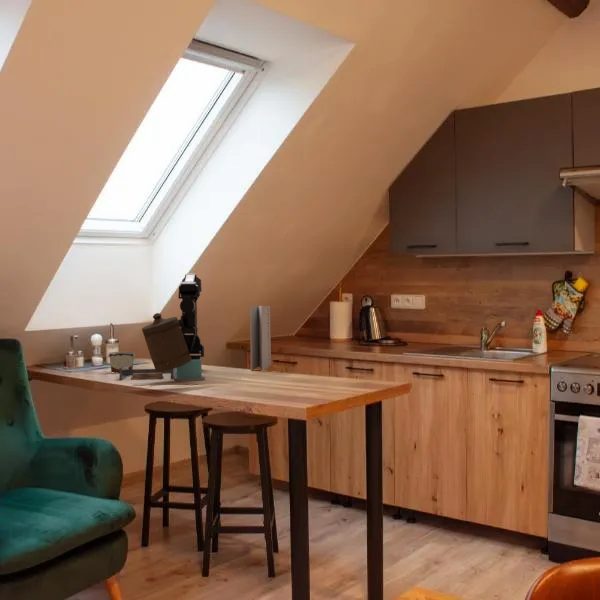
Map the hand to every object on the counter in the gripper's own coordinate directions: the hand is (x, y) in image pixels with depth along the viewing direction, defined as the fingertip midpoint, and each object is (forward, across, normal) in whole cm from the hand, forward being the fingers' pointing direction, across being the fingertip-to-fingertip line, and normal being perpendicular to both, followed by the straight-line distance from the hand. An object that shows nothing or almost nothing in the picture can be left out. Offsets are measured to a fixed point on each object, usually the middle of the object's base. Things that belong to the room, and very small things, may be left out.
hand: (189, 350), depth 324 cm
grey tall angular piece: (+12, -22, +30) cm, 39 cm away
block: (+11, 0, 0) cm, 11 cm away
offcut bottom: (+12, -6, -18) cm, 23 cm away
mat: (+12, +1, 0) cm, 12 cm away
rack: (+12, -13, -18) cm, 25 cm away
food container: (+12, -37, -32) cm, 51 cm away
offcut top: (+11, -7, -18) cm, 22 cm away
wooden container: (+5, +10, -6) cm, 12 cm away
